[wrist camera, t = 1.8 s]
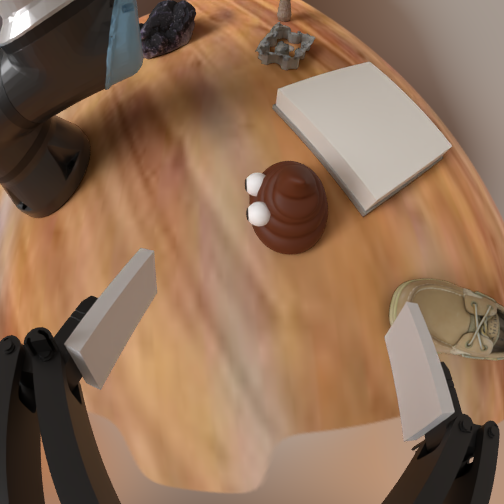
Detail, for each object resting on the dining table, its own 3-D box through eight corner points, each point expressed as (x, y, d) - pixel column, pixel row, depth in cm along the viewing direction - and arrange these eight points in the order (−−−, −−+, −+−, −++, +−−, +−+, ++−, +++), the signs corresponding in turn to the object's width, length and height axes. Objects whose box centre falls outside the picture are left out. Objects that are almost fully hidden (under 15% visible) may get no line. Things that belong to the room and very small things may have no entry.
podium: (272, 108, 33) (274, 88, 29) (362, 76, 35) (369, 60, 32) (362, 216, 30) (376, 203, 26) (440, 160, 32) (454, 147, 28)
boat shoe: (373, 335, 27) (411, 340, 19) (393, 261, 29) (432, 244, 21) (493, 370, 25) (529, 374, 17) (506, 314, 27) (541, 310, 19)
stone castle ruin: (277, 36, 38) (278, 20, 34) (315, 48, 38) (319, 31, 34) (250, 62, 36) (250, 43, 32) (293, 75, 35) (297, 56, 31)
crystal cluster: (118, 64, 38) (102, 30, 28) (150, 25, 40) (141, -7, 30) (179, 66, 38) (170, 26, 28) (207, 26, 40) (204, -10, 30)
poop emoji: (328, 254, 29) (359, 228, 20) (248, 258, 29) (247, 232, 20) (316, 172, 31) (336, 124, 22) (244, 174, 31) (241, 123, 22)
